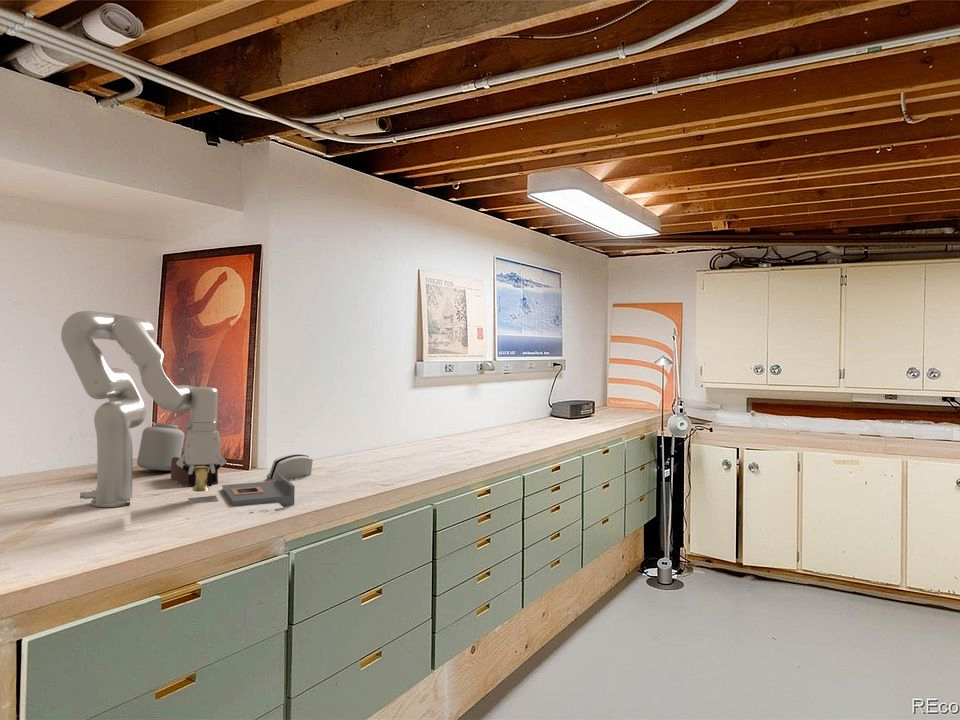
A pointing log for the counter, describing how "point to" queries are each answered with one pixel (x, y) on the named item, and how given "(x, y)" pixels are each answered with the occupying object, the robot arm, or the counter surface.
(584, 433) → the counter surface
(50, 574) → the counter surface
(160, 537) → the counter surface
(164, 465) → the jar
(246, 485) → the plate
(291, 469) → the grey rounded block
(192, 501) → the gray square slab
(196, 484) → the barrel peg
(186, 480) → the letter holder
